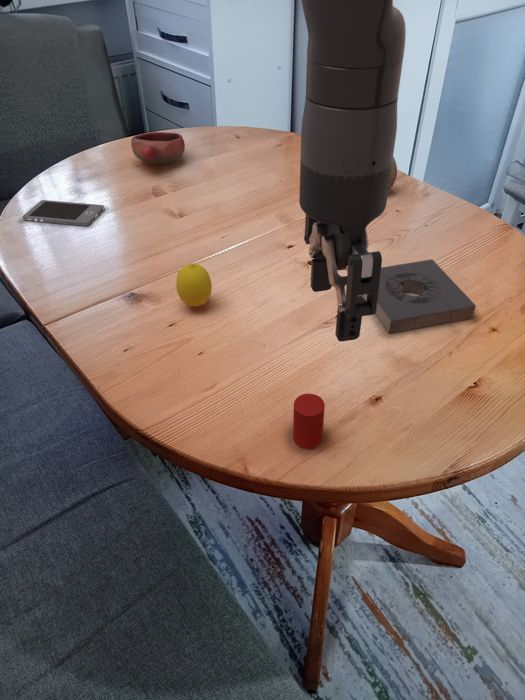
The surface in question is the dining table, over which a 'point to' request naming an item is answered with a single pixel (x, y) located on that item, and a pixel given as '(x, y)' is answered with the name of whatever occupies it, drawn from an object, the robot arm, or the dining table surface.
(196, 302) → the lemon
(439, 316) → the grey square base
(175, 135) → the bowl
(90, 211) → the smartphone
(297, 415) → the stopper
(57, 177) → the dining table surface
